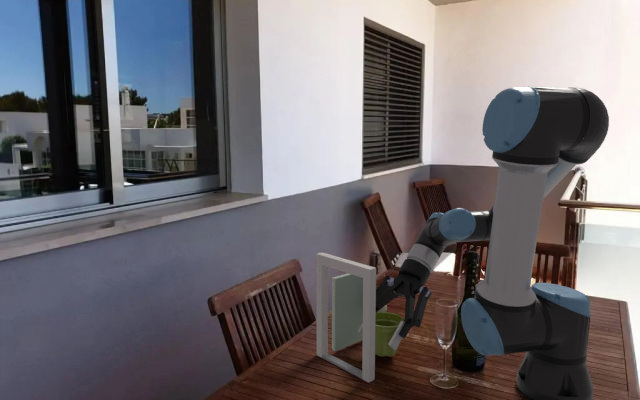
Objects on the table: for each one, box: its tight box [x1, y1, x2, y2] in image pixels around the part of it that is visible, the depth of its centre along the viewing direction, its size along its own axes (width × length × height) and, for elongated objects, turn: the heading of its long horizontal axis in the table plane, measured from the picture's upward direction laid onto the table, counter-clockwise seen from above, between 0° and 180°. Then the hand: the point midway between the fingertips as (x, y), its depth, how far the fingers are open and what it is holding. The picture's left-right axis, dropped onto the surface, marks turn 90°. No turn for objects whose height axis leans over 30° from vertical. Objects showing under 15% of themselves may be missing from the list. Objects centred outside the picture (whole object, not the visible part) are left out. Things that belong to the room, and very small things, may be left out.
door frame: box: [315, 252, 377, 383], centre depth 118 cm, size 18×2×26 cm, turn 41°
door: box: [331, 273, 363, 352], centre depth 130 cm, size 13×3×19 cm, turn 132°
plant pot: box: [375, 311, 405, 358], centre depth 124 cm, size 9×9×9 cm
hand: (376, 340), depth 122 cm, fingers closed on plant pot, 9 cm apart
